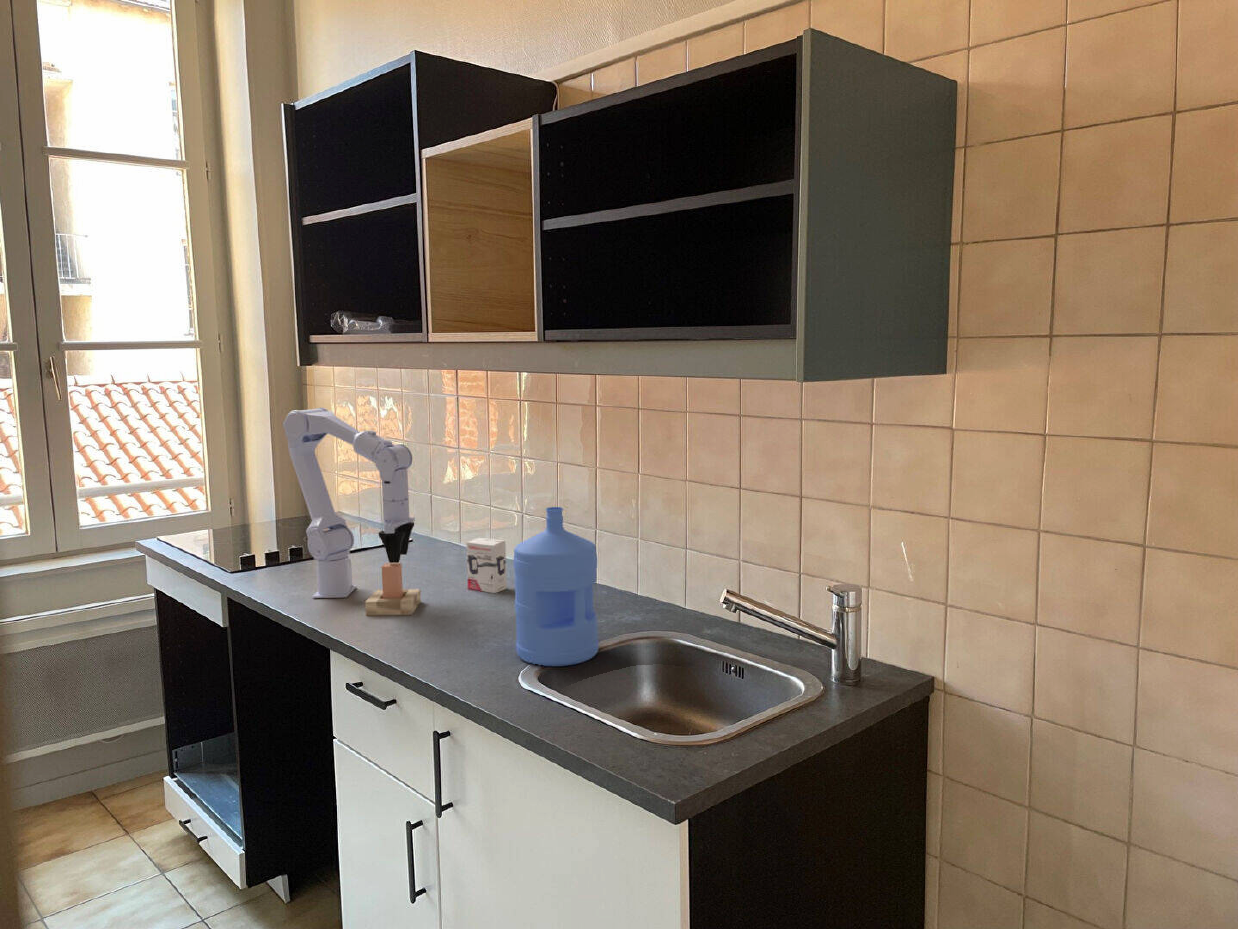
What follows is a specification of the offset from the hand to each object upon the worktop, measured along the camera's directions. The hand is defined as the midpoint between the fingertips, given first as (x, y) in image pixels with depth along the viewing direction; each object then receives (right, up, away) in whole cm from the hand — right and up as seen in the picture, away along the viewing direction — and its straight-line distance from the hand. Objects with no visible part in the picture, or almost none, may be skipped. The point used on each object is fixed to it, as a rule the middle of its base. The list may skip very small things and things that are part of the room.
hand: (398, 558), depth 210 cm
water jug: (+38, -15, -34) cm, 53 cm away
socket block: (0, -11, -3) cm, 11 cm away
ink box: (+18, -9, +12) cm, 24 cm away
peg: (0, -11, -3) cm, 11 cm away
